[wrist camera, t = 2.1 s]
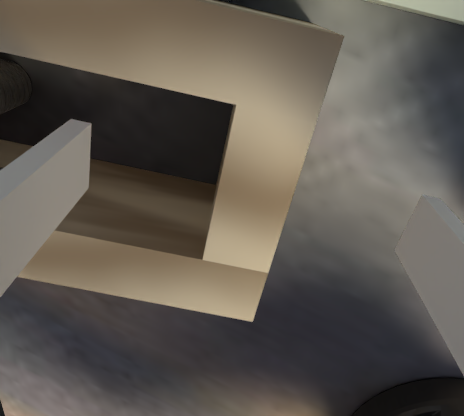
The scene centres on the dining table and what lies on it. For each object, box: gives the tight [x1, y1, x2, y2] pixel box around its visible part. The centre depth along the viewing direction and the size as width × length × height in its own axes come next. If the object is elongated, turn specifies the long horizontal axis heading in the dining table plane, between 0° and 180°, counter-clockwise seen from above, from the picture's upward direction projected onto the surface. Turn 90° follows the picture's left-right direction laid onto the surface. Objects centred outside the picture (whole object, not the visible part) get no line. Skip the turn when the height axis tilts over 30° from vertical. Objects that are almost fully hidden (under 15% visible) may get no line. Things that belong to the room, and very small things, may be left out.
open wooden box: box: [0, 0, 344, 322], centre depth 19 cm, size 13×22×8 cm, turn 78°
